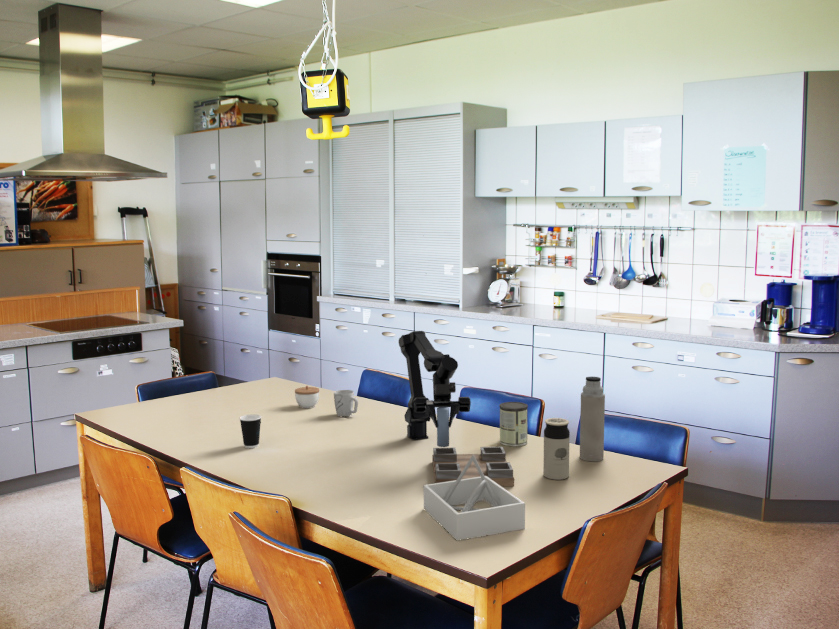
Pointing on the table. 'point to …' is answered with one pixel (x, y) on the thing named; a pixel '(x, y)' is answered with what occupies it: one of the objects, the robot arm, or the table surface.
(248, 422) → the dixie cup
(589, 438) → the thermos bottle
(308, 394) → the lidded jar
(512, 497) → the open square box
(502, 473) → the four-cup wooden tray
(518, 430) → the coffee can
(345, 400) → the mug
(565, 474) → the travel mug
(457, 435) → the table surface
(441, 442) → the stool leg
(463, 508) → the wire frame
